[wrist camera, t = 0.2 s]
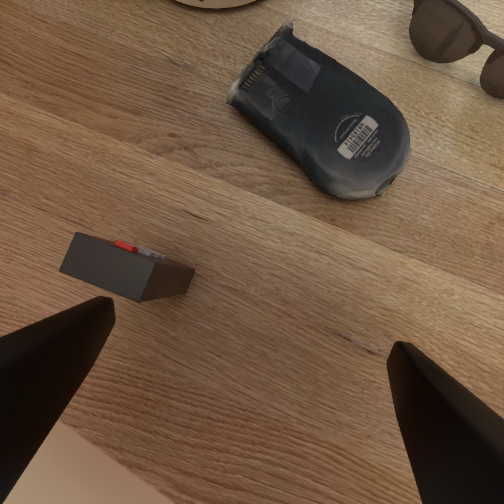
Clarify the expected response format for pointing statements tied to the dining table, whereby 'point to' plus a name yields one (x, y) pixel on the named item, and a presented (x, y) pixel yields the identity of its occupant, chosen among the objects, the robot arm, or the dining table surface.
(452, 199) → the dining table surface
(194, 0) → the planter
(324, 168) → the electronic device
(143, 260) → the dark grey rectangular prism
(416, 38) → the sunglasses
